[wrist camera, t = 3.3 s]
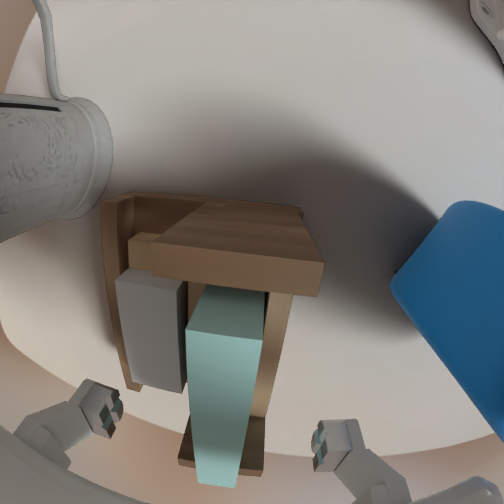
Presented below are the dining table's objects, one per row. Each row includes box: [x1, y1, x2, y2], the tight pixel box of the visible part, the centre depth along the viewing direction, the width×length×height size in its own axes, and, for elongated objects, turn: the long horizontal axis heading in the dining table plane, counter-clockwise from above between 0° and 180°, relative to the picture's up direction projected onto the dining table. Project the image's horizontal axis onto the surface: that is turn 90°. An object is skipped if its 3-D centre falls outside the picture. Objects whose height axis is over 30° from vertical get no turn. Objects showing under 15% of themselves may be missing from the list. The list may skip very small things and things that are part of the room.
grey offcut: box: [115, 268, 187, 394], centre depth 14 cm, size 7×3×2 cm, turn 174°
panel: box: [185, 284, 265, 488], centre depth 12 cm, size 10×2×8 cm, turn 174°
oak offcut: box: [128, 232, 188, 381], centre depth 15 cm, size 9×3×2 cm, turn 174°
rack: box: [100, 192, 325, 477], centre depth 13 cm, size 13×10×8 cm
